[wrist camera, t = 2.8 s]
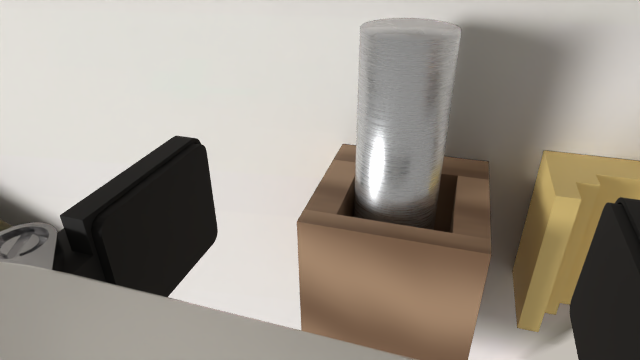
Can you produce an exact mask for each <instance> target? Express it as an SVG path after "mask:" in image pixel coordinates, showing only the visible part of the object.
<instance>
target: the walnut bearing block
mask: <svg viewBox="0 0 640 360" xmlns="http://www.w3.org/2000/svg"><path fill="white" fill-rule="evenodd" d="M355 168H356V146H354V145H346V144H342V146H341V148H340V149H339V151H338V153H337V155H336V156H335V158H334V160H333V161H332V163H331V165H330V166H329V168H328V170H327V171H326V173H325V175H324V177H323V178H322V180H321V182H320V183H319V185H318V187H317V188H316V190H315V192H314V193H313V195H312V197H311V199H310V200H309V202H308V204H307V205H306V207H305V209H304V210H303V212H302V214H301V216H300V217H299V219H298V221H297V236H298V259H299V283H300V306H301V329H302V331H305V332H309V333H313V334H317V335H321V336H325V337H329V338H333V339H337V340H341V341H345V342H349V343H353V344H357V345H361V346H365V347H369V348H373V349H377V350H381V351H385V352H389V353H393V354H397V355H401V356H405V357H409V358H413V359H417V360H468V356H469V352H470V347H471V343H472V339H473V334H474V330H475V325H476V321H477V316H478V312H479V308H480V303H481V299H482V294H483V290H484V285H485V281H486V277H487V272H488V268H489V263H490V259H491V223H490V191H489V162H487V161H479V160H471V159H462V158H454V157H446V156H444V159H443V166H442V173H441V180H440V187H439V194H438V201H437V209H436V216H435V223H434V230H430V229H424V228H418V227H411V226H405V225H399V224H393V223H387V222H380V221H374V220H368V219H362V218H356V217H354V199H355Z"/></svg>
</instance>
